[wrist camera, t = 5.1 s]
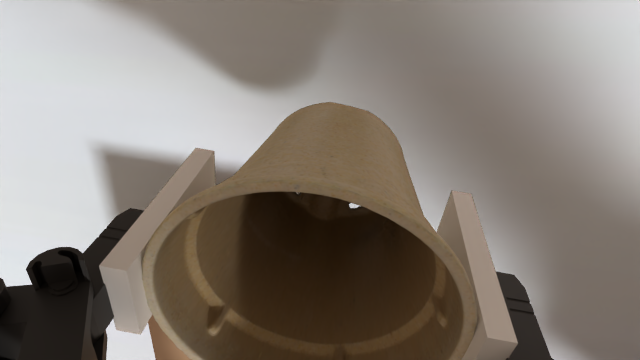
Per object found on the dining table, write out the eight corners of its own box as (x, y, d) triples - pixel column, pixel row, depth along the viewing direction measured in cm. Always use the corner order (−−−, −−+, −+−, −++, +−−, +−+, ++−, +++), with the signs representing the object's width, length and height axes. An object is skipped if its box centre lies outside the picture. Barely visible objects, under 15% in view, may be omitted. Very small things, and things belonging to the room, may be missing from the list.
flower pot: (357, 269, 22) (344, 440, 15) (203, 180, 20) (102, 326, 13) (487, 147, 17) (561, 313, 10) (299, 14, 15) (223, 101, 8)
